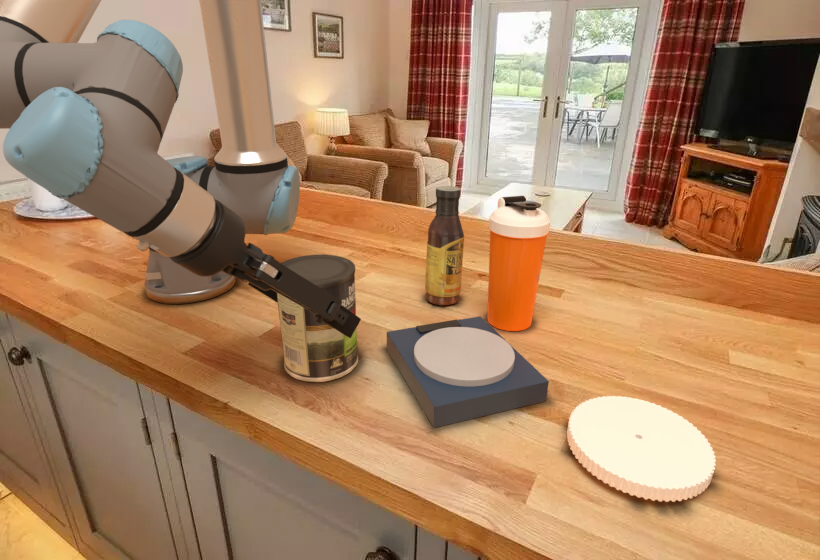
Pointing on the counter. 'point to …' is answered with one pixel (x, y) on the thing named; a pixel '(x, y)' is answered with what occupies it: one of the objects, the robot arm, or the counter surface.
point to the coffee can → (306, 339)
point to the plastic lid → (641, 448)
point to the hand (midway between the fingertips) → (318, 311)
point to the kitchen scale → (464, 370)
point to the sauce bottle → (445, 249)
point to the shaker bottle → (515, 261)
